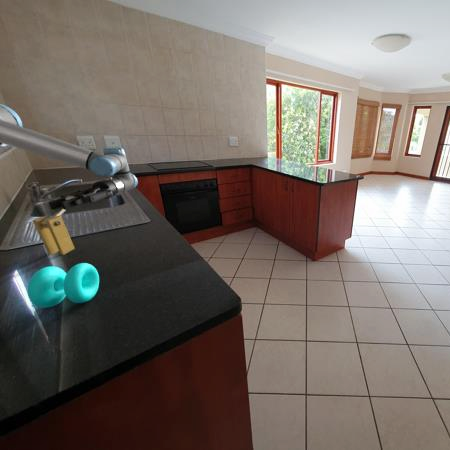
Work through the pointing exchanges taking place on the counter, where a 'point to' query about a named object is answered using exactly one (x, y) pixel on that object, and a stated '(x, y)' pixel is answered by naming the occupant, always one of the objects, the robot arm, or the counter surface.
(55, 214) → the lever
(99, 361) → the counter surface
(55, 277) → the donuts
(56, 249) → the bracket
